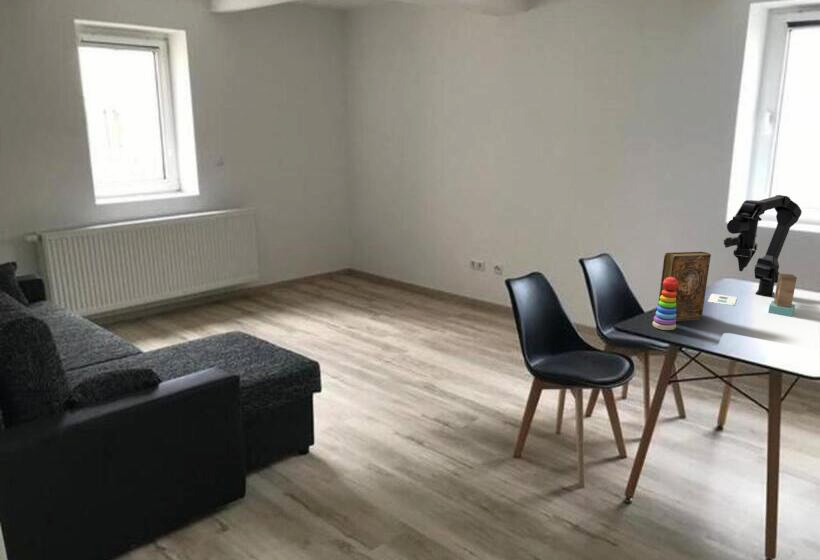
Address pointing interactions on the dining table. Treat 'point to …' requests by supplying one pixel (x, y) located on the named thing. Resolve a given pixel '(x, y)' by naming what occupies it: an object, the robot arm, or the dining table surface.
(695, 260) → the book
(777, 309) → the base brick
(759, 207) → the robot arm
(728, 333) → the dining table surface
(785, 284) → the column brick
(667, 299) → the stacking toy
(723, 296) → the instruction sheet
